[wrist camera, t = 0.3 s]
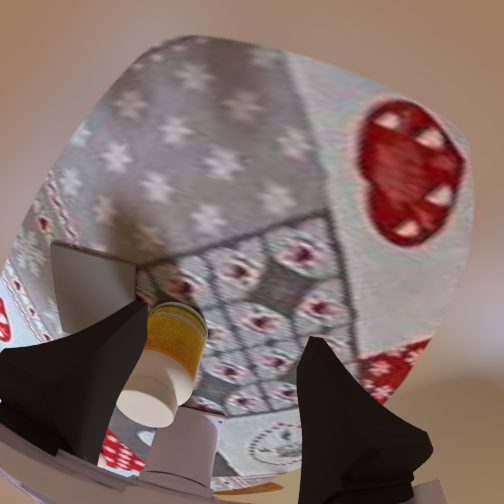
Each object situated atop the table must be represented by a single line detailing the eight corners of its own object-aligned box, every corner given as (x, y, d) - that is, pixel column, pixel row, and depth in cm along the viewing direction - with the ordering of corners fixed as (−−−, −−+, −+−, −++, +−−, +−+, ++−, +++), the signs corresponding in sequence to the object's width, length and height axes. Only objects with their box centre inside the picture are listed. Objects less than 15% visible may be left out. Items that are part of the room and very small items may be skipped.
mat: (137, 354, 26) (135, 356, 25) (64, 328, 26) (62, 330, 25) (136, 264, 22) (134, 266, 22) (52, 242, 22) (50, 244, 21)
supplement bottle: (204, 354, 25) (181, 441, 16) (148, 340, 25) (109, 418, 16) (213, 308, 23) (187, 399, 14) (151, 292, 23) (99, 371, 14)
